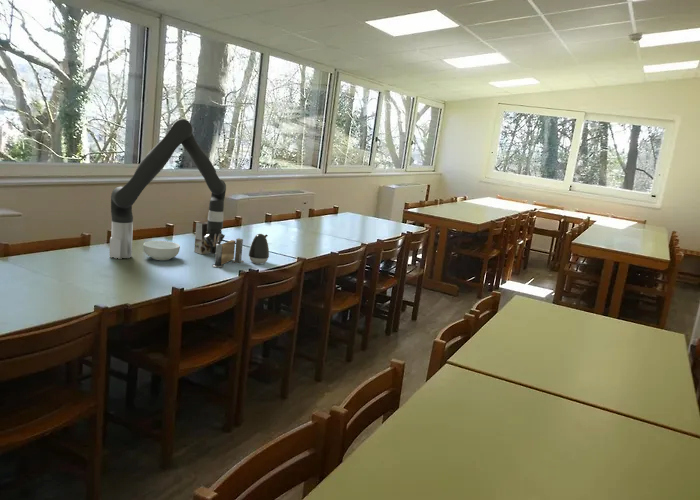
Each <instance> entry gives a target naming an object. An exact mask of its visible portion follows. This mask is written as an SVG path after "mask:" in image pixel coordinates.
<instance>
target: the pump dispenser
mask: <svg viewBox="0 0 700 500" xmlns="http://www.w3.org/2000/svg"><path fill="white" fill-rule="evenodd" d="M267 239H268V234H262V233H257V234H256V235H255V236H254V238H253V239H252V241H251V244H250V247H249V252H248V257H249V260H250V261H251V262H252V263H253V264H256V265H264V264H265V263H266V262H267V261H268V259H269V258H270V250H269V249H270V248H269V243H268V240H267Z"/></svg>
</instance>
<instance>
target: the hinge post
mask: <svg viewBox="0 0 700 500" xmlns="http://www.w3.org/2000/svg"><path fill="white" fill-rule="evenodd" d="M222 244H223V243H220V244H216V253H215V254H214V255H215V259H214V263H213V264H212V268H216V269H221V268H224V264H222V265H221V255H222Z"/></svg>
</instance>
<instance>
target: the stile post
mask: <svg viewBox="0 0 700 500" xmlns="http://www.w3.org/2000/svg"><path fill="white" fill-rule="evenodd" d="M235 241H236V242H235V250H234V259H233V260H231V263H234V264H238V265H240V264H242V263H244V262H245V260H242V255H243V243H244V238H240V237H239V238H236V240H235Z"/></svg>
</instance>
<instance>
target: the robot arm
mask: <svg viewBox="0 0 700 500" xmlns="http://www.w3.org/2000/svg"><path fill="white" fill-rule="evenodd" d="M180 145H182V146H183V148H184V149H185V151H187V153H188V155H189V156H190V158H191V159H192V161H193V163H194V165H195V167H196V168H197V171H199V173H200V174H201V176H202V177H203V179H204V181H205V183H206V186H207V187H208V189H209V191H210V192H211V198H210V200H209V205H208V206H209V207H208V213H207V221H208V223H207V228H208V232H207V235H206V236H204V237H203V238H204V240H205V241H206V243H207V245H210V253H209V254H211V255H213V254H214V255H216V244H222V241H223V240H224V238H225V235H226V234H223V233H222V230H223V228H224V215H225V214H224V209H225V207H224V206H225V197H226V191H227V185H226V183H225V180H223V179H220V178H219V177H220V176H218V174H217V170H216V168H215V166H214V165H213V163H212V162H211V160H210V158H209V157H208V156H207V154H206V153H205V152H204V151H203V150H202V149H201V147H200V145H199V144H198V141H196V138H195V136H194V134H193V126H192V123H191V122H190V121H189V120H188V119H184V118H181V119H180V118H179V119H177V120H175V122H174V123H173V124H172V125H171V127H170V129H169V130H168V132H166V134H165V135H164V136H163V138H162V139H161V140H160V141H159V142H158V143H157V144H156V145H154V146H153V148H152V149H150V150H149V152H148V153H147V154H146V155H145V156H144V157H143V158H142V160H141V161H140V163H139V164H138V166H137V168H136V170H134V171H135V172H134V174H133V175H132V177H131V178H130V179H129V180H128V182H127V183H125V185H123V186H116V187H115V188H114V189H113V190H112V192H111V196H110V215H111V231H110V232H111V236H110V238H109V256H110V257H109V256H108V257H109V258H112V257H114V258H113V259H117V258H118V260H122V258H127V259H131V258H132V255H133V234H134V233H133V227H134V226H133V225H134V216H133V209H132V208H133V205H134V204H135V202H136V200H138V198H139V196H141V193H142V192H143V191H144V190H145V189H146V187H148V185H149V184H150V183H151V182H152V181H153V180H154V179H155V177H156V176H158V174H159V173H160V172H161V171H162V170H163V168H164V167H165V166H166V165H167V163H168V162H169V161H170V159H171V157H172V155H173V154H174V152H175V151H176V149H177V148H178V147H179V146H180ZM130 257H131V258H130Z"/></svg>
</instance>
